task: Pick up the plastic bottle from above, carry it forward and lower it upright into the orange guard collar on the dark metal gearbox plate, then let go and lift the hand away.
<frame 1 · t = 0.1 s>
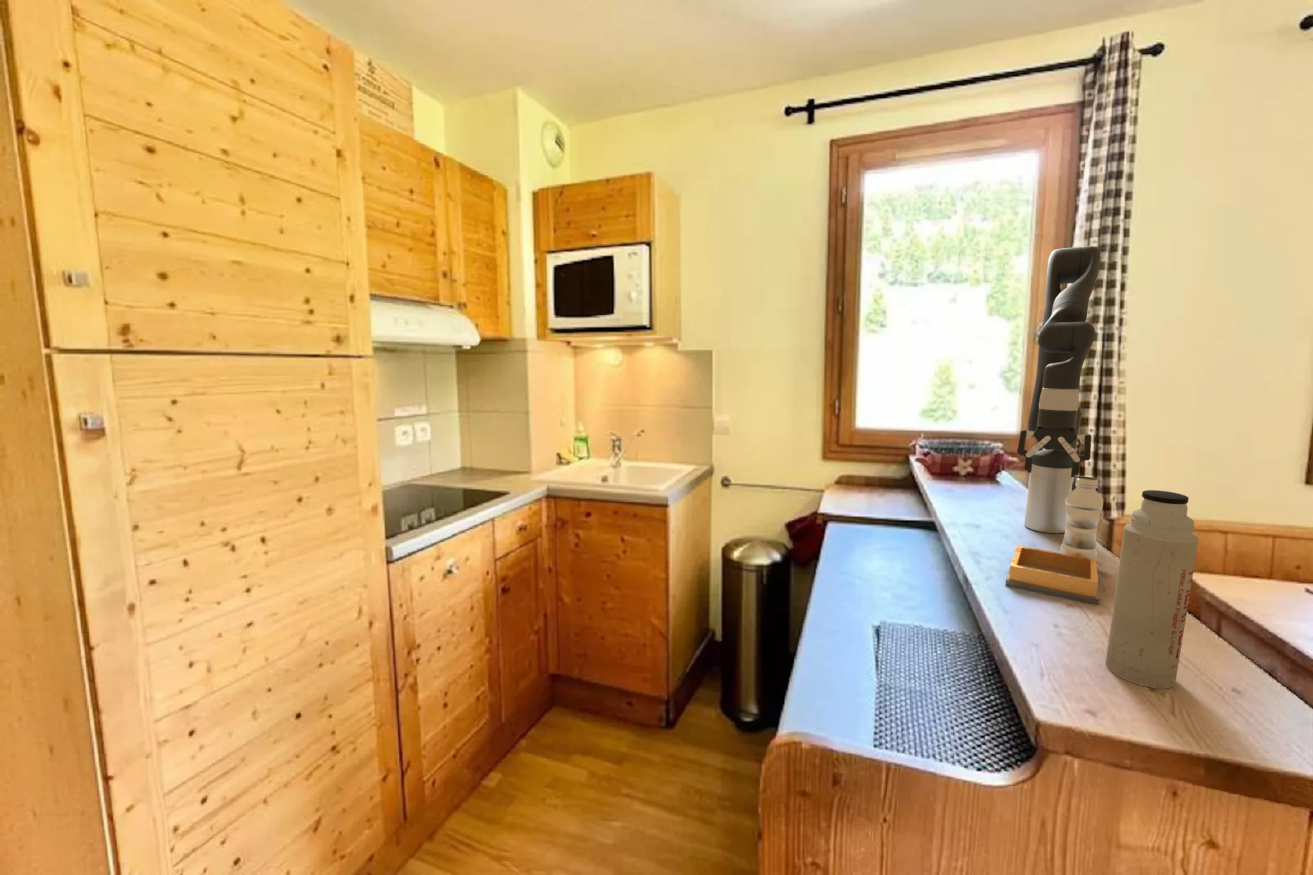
hand: (1050, 474, 134), 17 cm above the table, tool pointing down, fingers open, 8 cm apart
thermos bottle: (1139, 674, 83), on the table
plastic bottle: (1076, 566, 123), on the table
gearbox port: (1051, 581, 115), on the table
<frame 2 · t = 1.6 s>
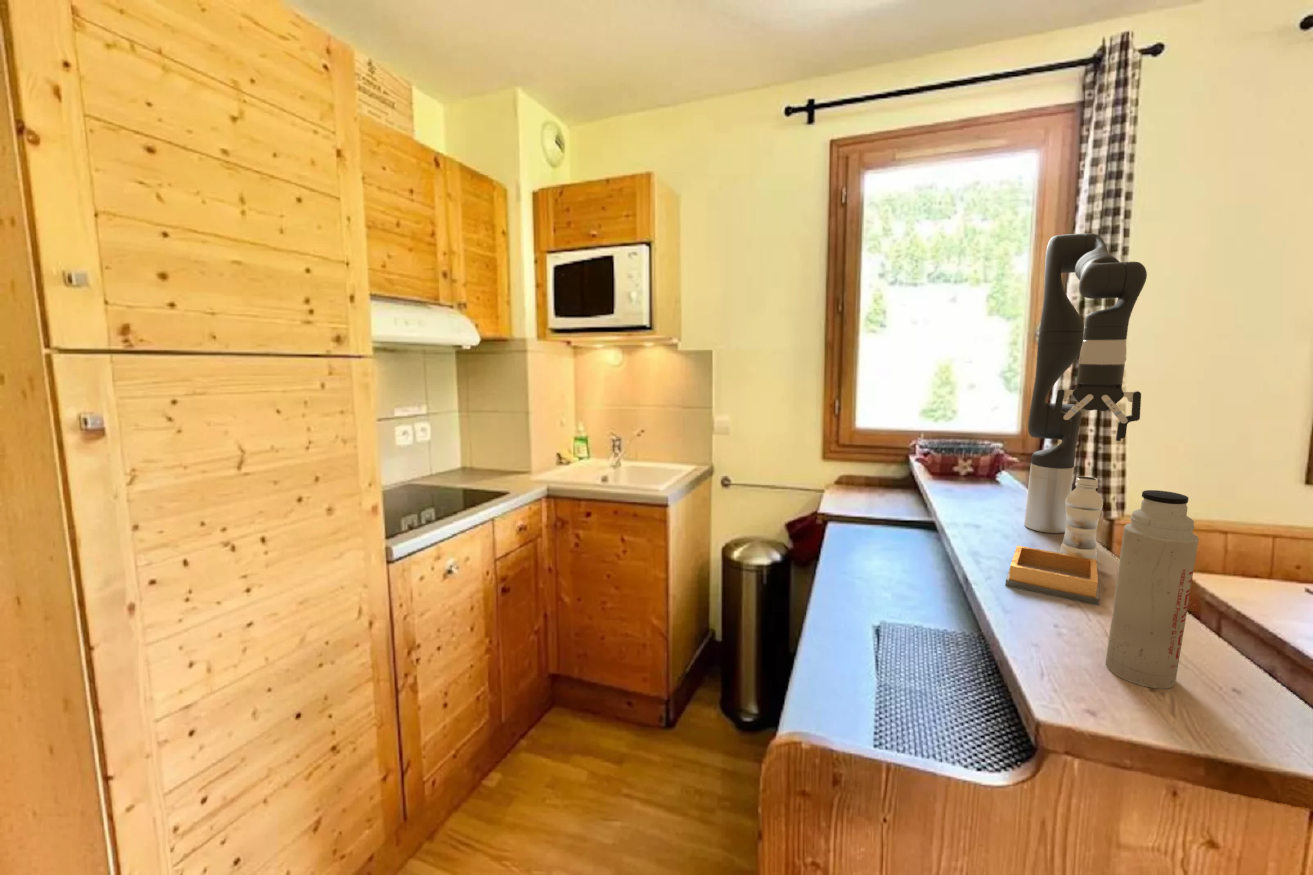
hand: (1092, 438, 118), 29 cm above the table, tool pointing down, fingers open, 8 cm apart
nothing on the table moved.
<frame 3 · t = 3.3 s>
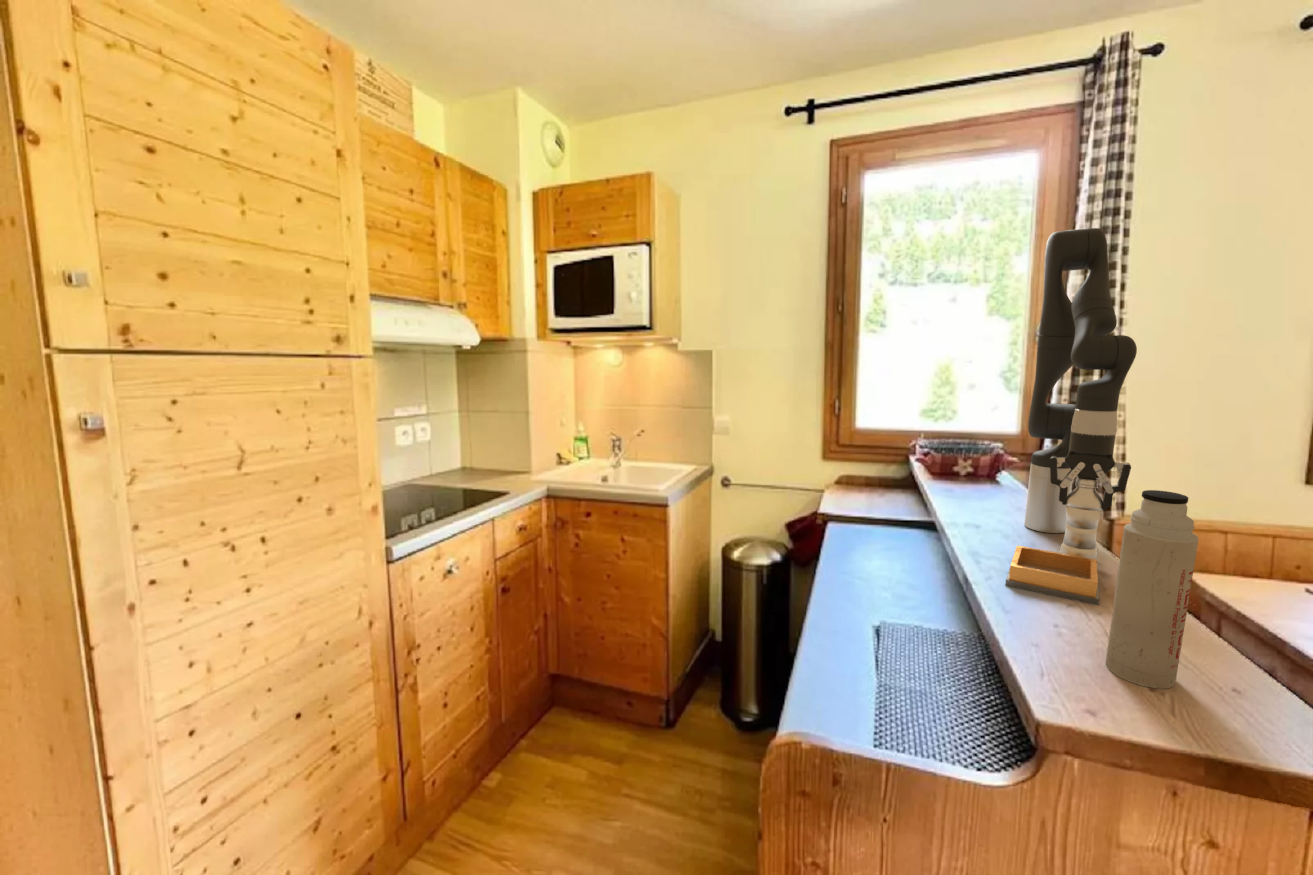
hand: (1083, 506, 120), 14 cm above the table, tool pointing down, fingers closed on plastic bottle, 6 cm apart
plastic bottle: (1076, 566, 123), on the table, touching gripper
everything else where it was.
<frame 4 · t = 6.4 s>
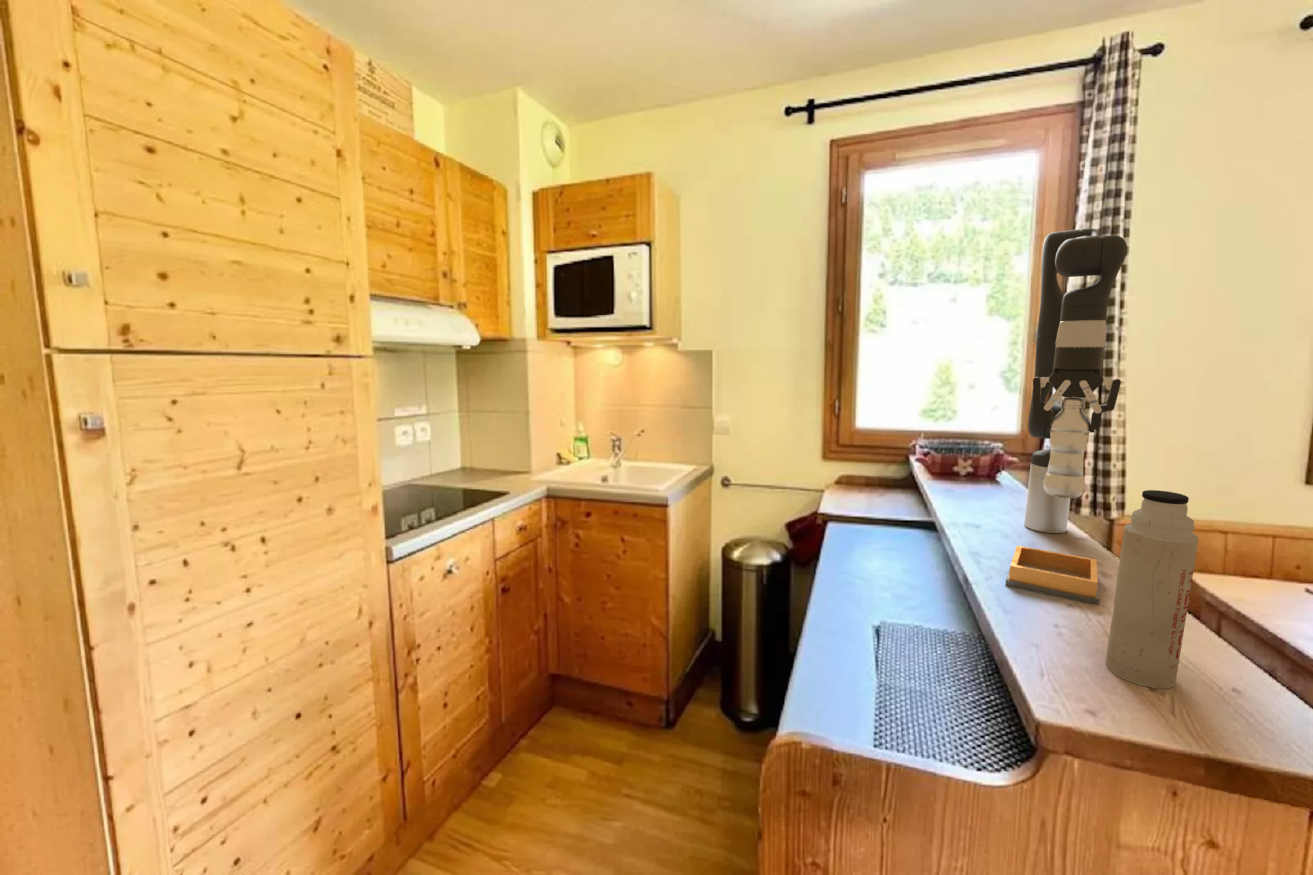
hand: (1069, 430, 109), 32 cm above the table, tool pointing down, fingers closed on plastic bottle, 6 cm apart
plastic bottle: (1061, 498, 112), point 18 cm above the table, touching gripper
everything else where it was.
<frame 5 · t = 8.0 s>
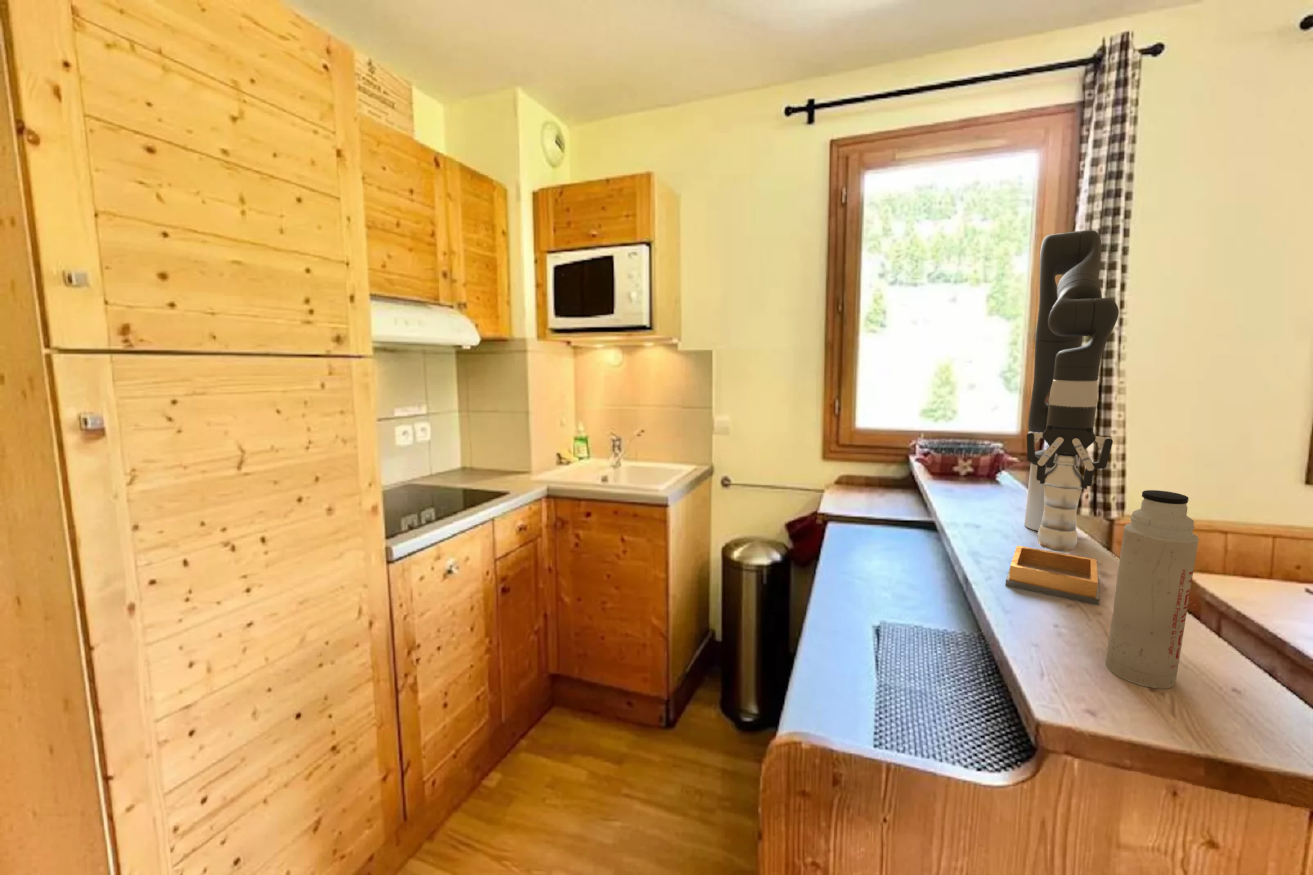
hand: (1062, 485, 111), 21 cm above the table, tool pointing down, fingers closed on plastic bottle, 6 cm apart
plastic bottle: (1055, 550, 114), point 7 cm above the table, touching gripper
everything else where it was.
when the fingers open (17 cm above the table, at t = 9.4 s): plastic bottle drops 2 cm, resting on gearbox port.
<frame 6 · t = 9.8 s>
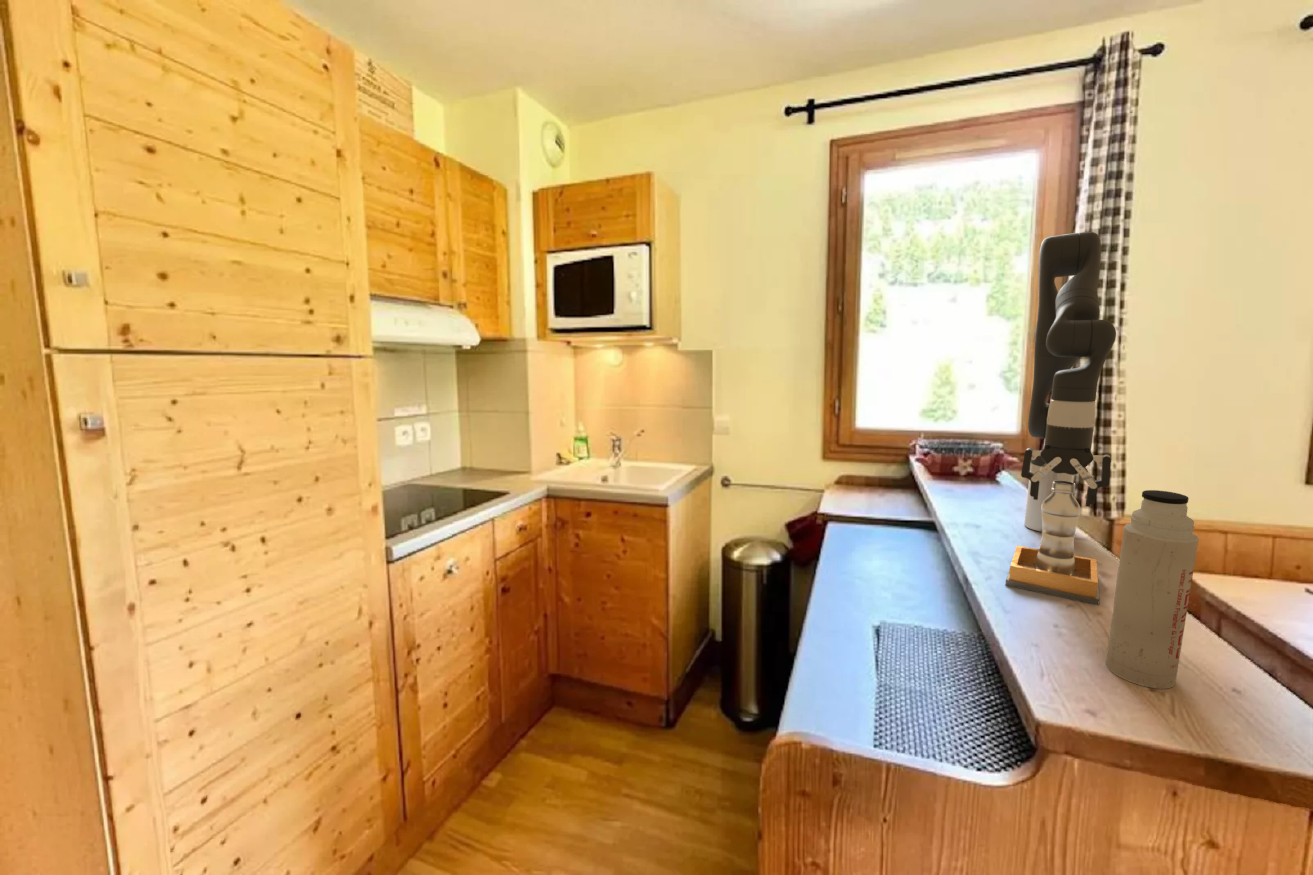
hand: (1060, 502, 112), 17 cm above the table, tool pointing down, fingers open, 8 cm apart
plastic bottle: (1053, 577, 115), point 1 cm above the table, touching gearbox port
everything else where it was.
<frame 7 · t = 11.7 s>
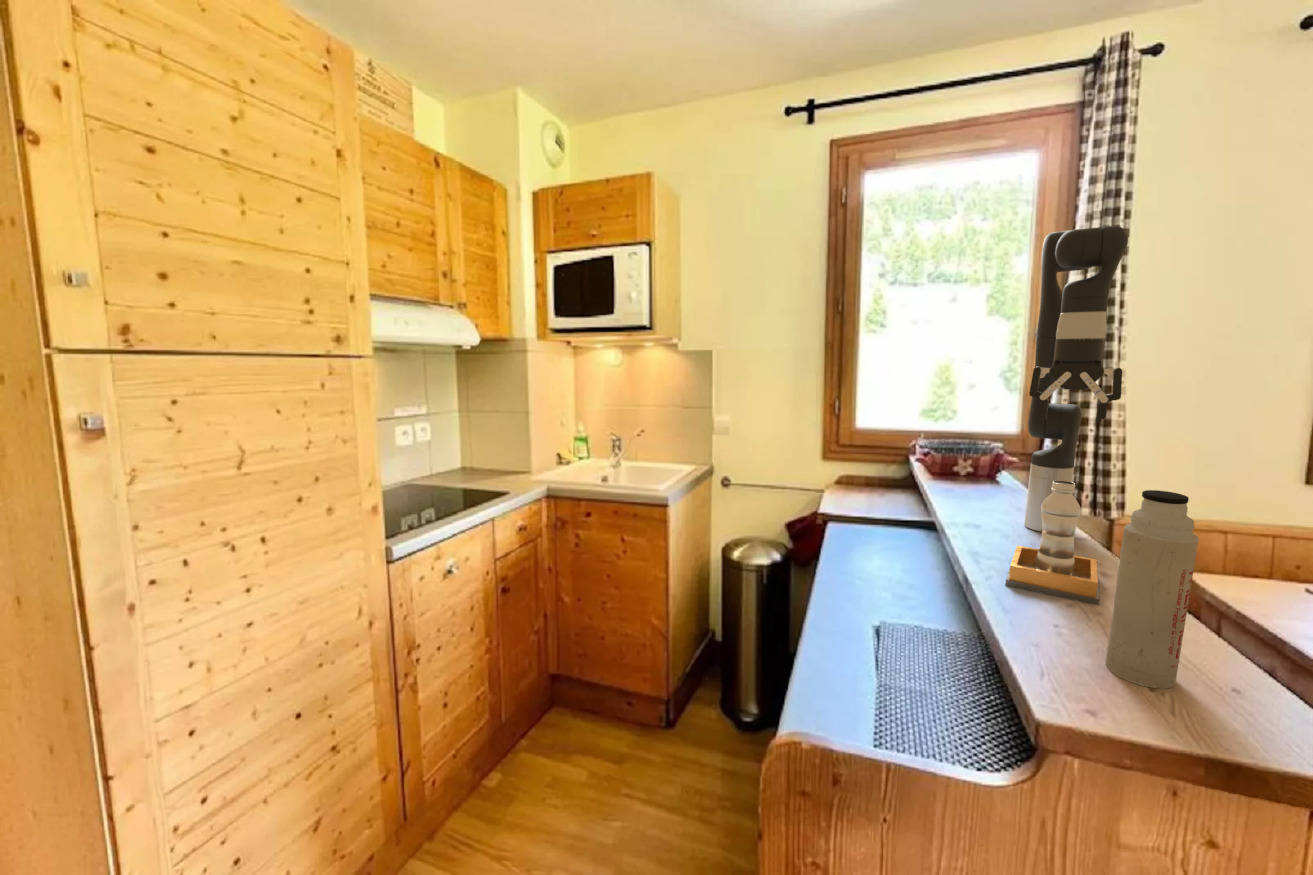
hand: (1070, 420, 109), 34 cm above the table, tool pointing down, fingers open, 8 cm apart
nothing on the table moved.
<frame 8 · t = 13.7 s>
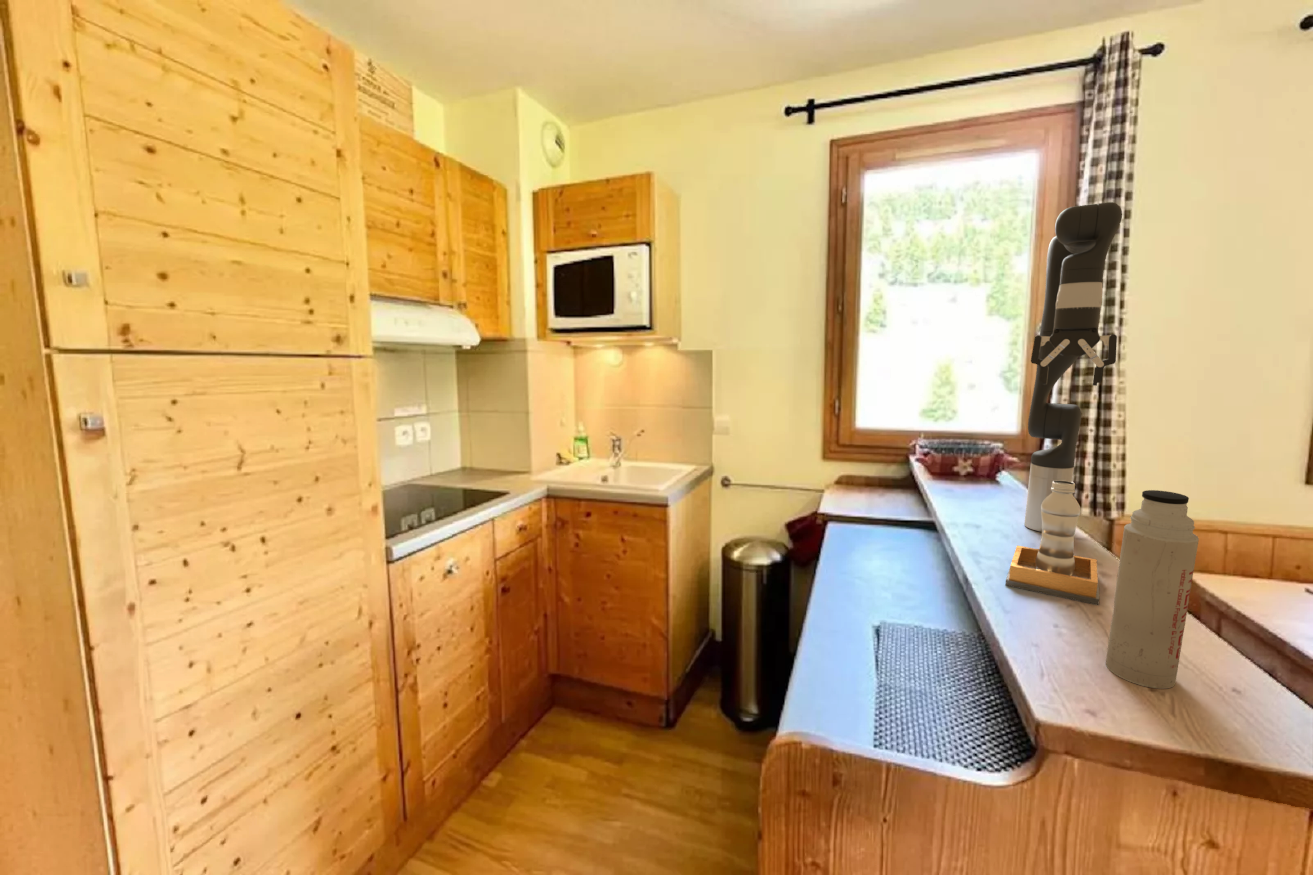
hand: (1069, 384, 117), 40 cm above the table, tool pointing down, fingers open, 8 cm apart
nothing on the table moved.
at the end: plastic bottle 0.2 cm off-centre on the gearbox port, point 1.0 cm above the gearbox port's base; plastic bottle tilted 0°; the gripper is holding nothing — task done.
